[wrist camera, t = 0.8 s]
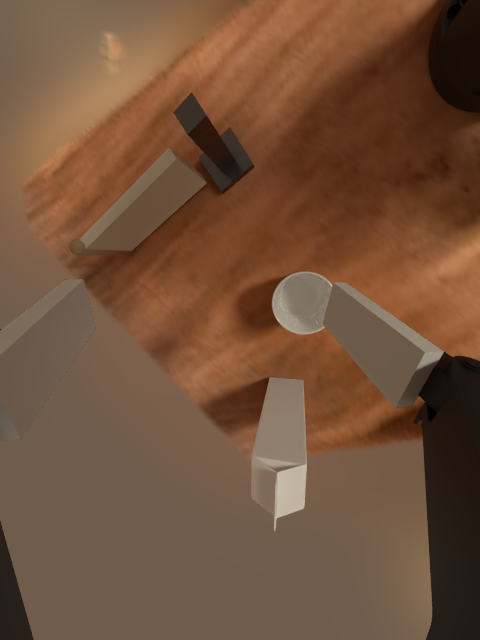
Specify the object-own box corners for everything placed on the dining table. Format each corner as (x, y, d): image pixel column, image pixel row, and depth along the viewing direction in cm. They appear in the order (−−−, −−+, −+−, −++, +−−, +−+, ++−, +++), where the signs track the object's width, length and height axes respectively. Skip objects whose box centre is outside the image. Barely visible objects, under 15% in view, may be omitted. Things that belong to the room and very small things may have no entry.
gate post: (232, 131, 37) (194, 61, 24) (254, 166, 37) (230, 117, 24) (201, 160, 39) (151, 110, 25) (223, 193, 39) (184, 161, 26)
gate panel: (201, 173, 38) (165, 143, 28) (209, 185, 38) (175, 158, 28) (121, 248, 44) (67, 245, 34) (128, 257, 44) (76, 258, 34)
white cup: (271, 307, 42) (263, 322, 32) (287, 261, 40) (283, 263, 30) (317, 322, 41) (323, 342, 31) (336, 276, 38) (348, 283, 29)
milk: (303, 379, 44) (310, 490, 23) (301, 409, 45) (306, 540, 24) (268, 376, 45) (245, 479, 24) (268, 406, 47) (246, 527, 26)
